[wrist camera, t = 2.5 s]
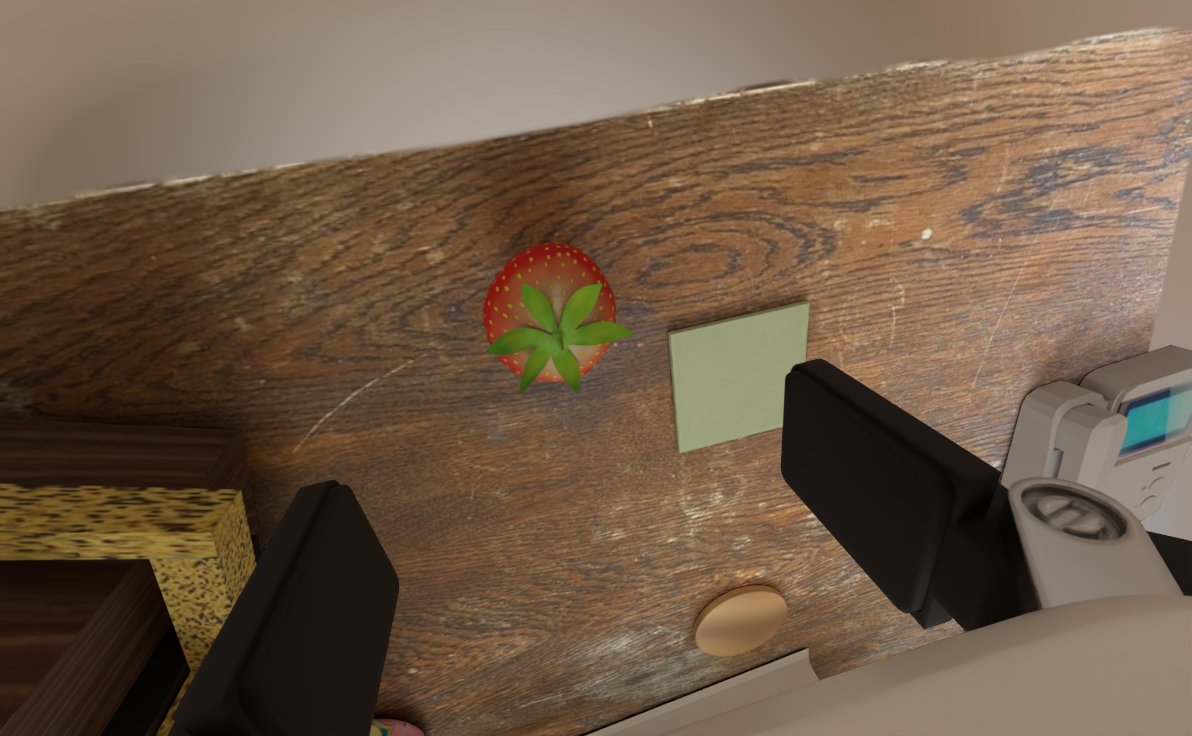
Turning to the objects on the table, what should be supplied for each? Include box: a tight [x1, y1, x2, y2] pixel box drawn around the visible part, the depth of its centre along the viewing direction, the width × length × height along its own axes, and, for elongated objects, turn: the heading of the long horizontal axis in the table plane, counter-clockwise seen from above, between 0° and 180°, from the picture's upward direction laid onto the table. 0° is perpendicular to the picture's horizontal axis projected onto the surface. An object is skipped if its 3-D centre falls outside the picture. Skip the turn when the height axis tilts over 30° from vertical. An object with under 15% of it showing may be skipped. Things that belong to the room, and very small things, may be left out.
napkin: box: [668, 301, 810, 453], centre depth 26 cm, size 8×8×1 cm
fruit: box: [483, 242, 633, 393], centre depth 18 cm, size 5×5×8 cm
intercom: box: [1001, 345, 1192, 521], centre depth 36 cm, size 13×4×25 cm
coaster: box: [693, 585, 787, 657], centre depth 37 cm, size 8×8×1 cm
